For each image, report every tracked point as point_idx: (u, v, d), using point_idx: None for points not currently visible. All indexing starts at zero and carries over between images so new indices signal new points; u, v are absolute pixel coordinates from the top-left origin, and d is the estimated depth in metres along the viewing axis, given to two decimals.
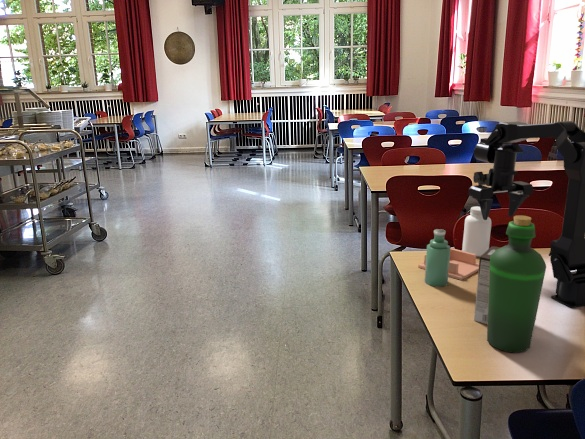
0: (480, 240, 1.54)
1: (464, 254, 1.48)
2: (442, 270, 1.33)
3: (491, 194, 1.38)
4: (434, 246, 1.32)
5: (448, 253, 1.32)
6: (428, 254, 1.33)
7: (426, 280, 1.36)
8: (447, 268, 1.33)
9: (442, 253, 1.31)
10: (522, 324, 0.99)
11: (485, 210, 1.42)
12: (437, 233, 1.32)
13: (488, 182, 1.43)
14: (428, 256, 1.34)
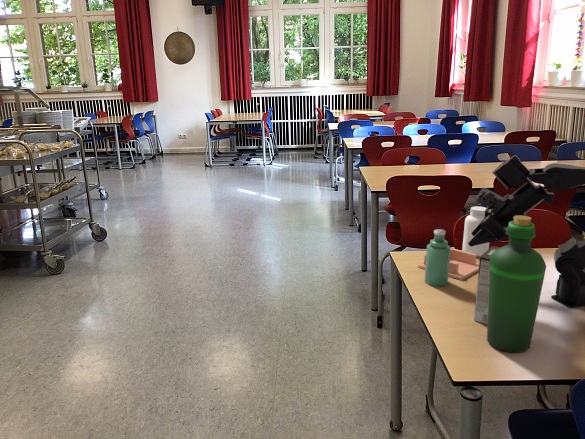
0: None
1: (464, 254, 1.48)
2: (442, 270, 1.33)
3: None
4: (434, 246, 1.32)
5: (448, 253, 1.32)
6: (428, 254, 1.33)
7: (426, 280, 1.36)
8: (447, 268, 1.33)
9: (442, 253, 1.31)
10: (522, 324, 0.99)
11: (481, 241, 1.23)
12: (437, 233, 1.32)
13: (497, 211, 1.23)
14: (428, 256, 1.34)
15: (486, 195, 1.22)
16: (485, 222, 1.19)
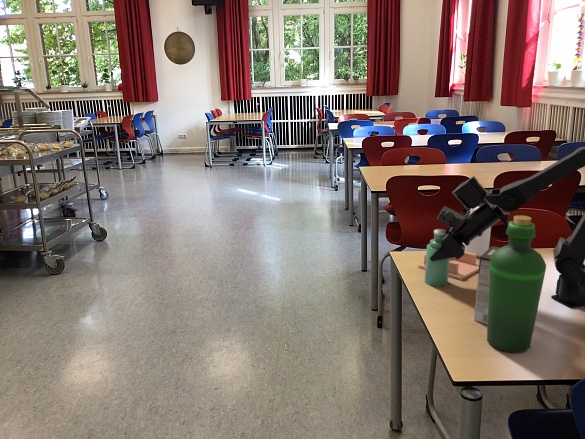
0: (480, 240, 1.54)
1: (464, 254, 1.48)
2: (442, 270, 1.33)
3: None
4: (434, 246, 1.32)
5: None
6: (428, 254, 1.33)
7: (426, 280, 1.36)
8: (447, 268, 1.33)
9: None
10: (522, 324, 0.99)
11: (442, 257, 1.30)
12: (437, 233, 1.32)
13: (456, 229, 1.28)
14: (428, 256, 1.34)
15: (446, 214, 1.27)
16: (443, 241, 1.24)
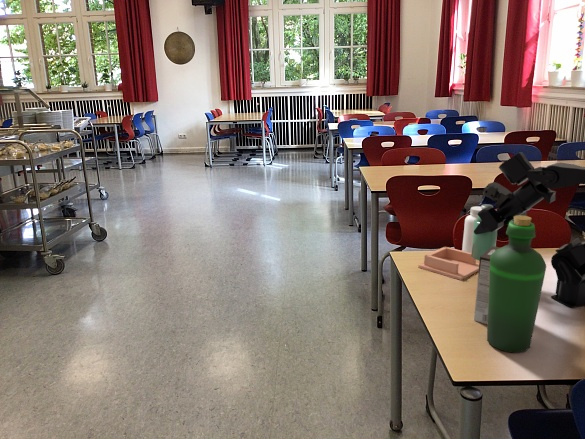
0: None
1: (464, 254, 1.48)
2: (486, 244, 1.35)
3: (500, 227, 1.27)
4: (479, 220, 1.35)
5: None
6: (474, 227, 1.37)
7: (471, 253, 1.39)
8: (492, 243, 1.35)
9: None
10: (522, 324, 0.99)
11: (483, 230, 1.33)
12: (483, 207, 1.34)
13: (499, 204, 1.29)
14: (474, 229, 1.37)
15: (488, 188, 1.29)
16: (479, 212, 1.27)
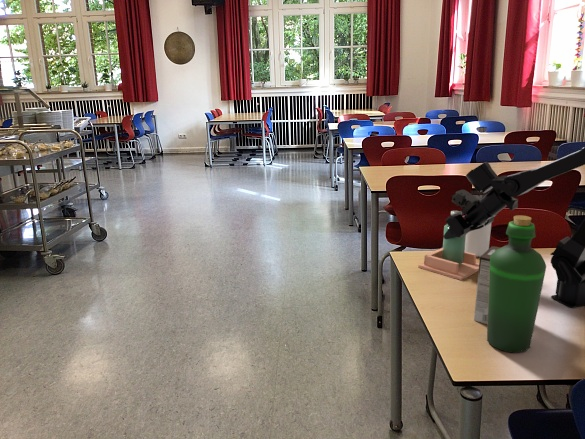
0: (480, 240, 1.54)
1: (464, 254, 1.48)
2: (455, 248, 1.42)
3: None
4: None
5: None
6: (444, 233, 1.44)
7: (442, 257, 1.47)
8: (460, 248, 1.42)
9: None
10: (522, 324, 0.99)
11: (452, 235, 1.40)
12: (452, 213, 1.42)
13: (466, 211, 1.37)
14: (444, 234, 1.44)
15: (456, 196, 1.37)
16: (447, 219, 1.35)
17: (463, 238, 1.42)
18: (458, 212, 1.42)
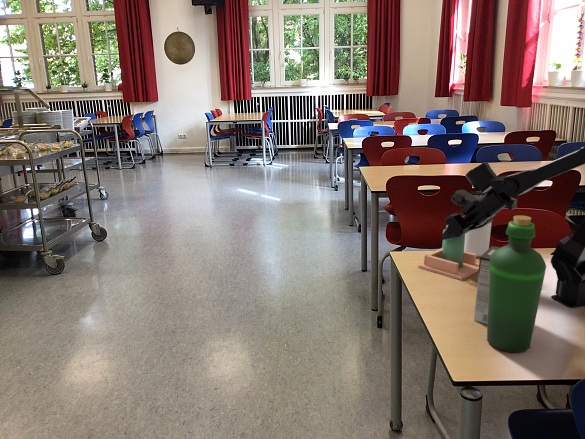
0: (480, 240, 1.54)
1: (464, 254, 1.48)
2: (454, 253, 1.43)
3: (466, 232, 1.35)
4: None
5: (460, 238, 1.42)
6: None
7: None
8: (460, 252, 1.43)
9: None
10: (522, 324, 0.99)
11: (450, 236, 1.39)
12: None
13: (465, 210, 1.37)
14: None
15: (455, 195, 1.37)
16: (446, 219, 1.35)
17: (462, 242, 1.42)
18: None
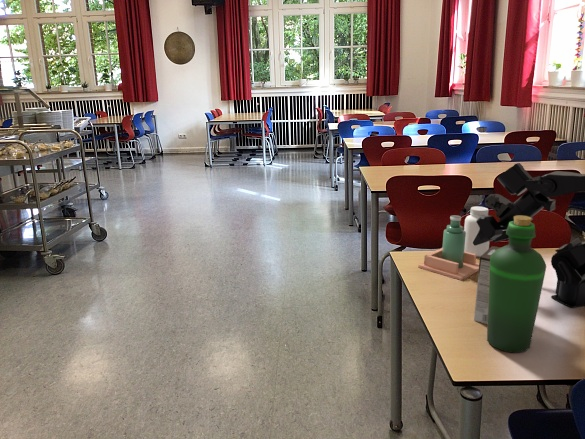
0: None
1: (464, 254, 1.48)
2: (454, 253, 1.43)
3: (499, 235, 1.28)
4: (448, 230, 1.43)
5: (461, 238, 1.41)
6: (443, 237, 1.45)
7: None
8: (460, 252, 1.43)
9: (454, 237, 1.41)
10: (522, 324, 0.99)
11: (481, 240, 1.32)
12: (452, 218, 1.42)
13: (499, 213, 1.31)
14: (443, 239, 1.45)
15: (488, 197, 1.31)
16: (478, 220, 1.29)
17: (462, 243, 1.42)
18: (457, 217, 1.42)
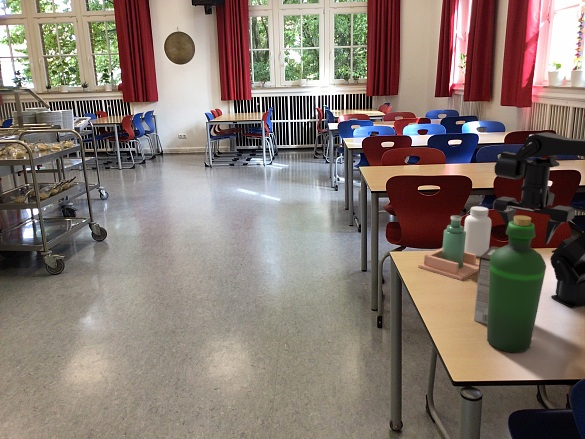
0: (480, 240, 1.54)
1: (464, 254, 1.48)
2: (454, 253, 1.43)
3: (504, 207, 1.30)
4: (448, 230, 1.43)
5: (461, 238, 1.41)
6: (443, 237, 1.45)
7: None
8: (460, 252, 1.43)
9: (455, 237, 1.41)
10: (522, 324, 0.99)
11: None
12: (452, 218, 1.42)
13: None
14: (443, 239, 1.45)
15: None
16: None
17: (463, 243, 1.42)
18: (458, 217, 1.42)
